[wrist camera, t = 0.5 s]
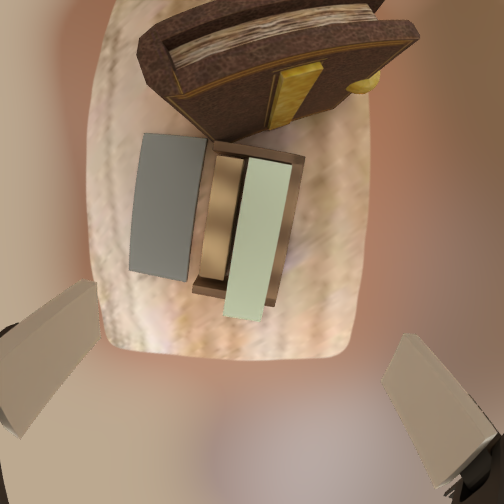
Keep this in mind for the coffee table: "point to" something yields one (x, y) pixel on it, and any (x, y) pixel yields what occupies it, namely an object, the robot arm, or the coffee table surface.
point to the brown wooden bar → (221, 217)
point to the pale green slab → (256, 238)
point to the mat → (165, 204)
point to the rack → (244, 151)
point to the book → (267, 60)
